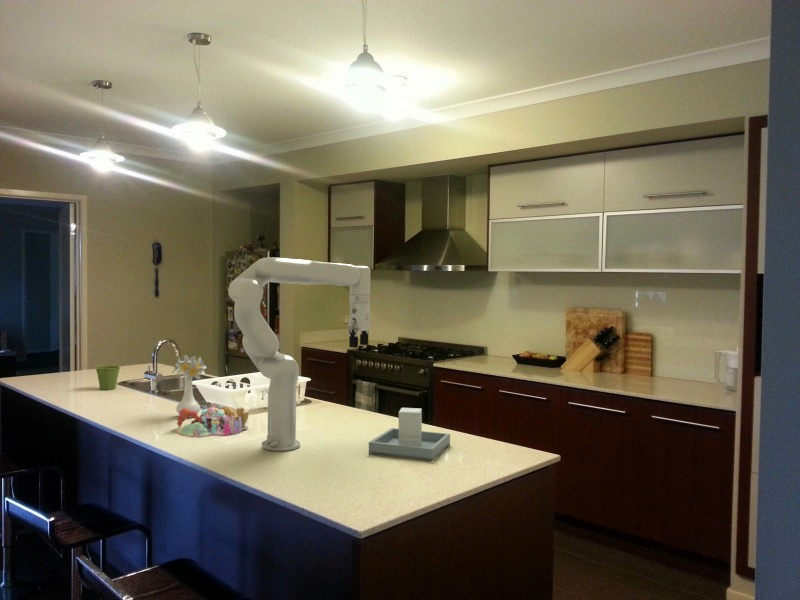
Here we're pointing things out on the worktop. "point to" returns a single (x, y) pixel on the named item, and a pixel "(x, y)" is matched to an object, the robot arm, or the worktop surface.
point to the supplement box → (410, 426)
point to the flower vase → (189, 381)
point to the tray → (390, 446)
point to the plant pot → (107, 376)
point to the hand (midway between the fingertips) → (358, 346)
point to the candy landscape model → (212, 422)
